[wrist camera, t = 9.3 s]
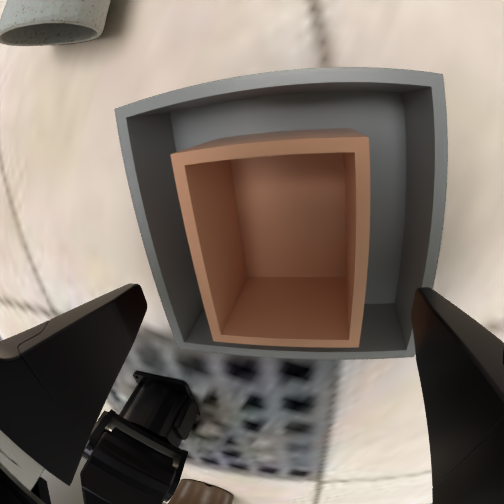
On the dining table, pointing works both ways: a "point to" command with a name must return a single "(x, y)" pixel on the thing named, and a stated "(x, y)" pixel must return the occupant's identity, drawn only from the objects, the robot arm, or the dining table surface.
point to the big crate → (287, 119)
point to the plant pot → (199, 494)
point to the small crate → (279, 234)
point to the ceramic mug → (52, 21)
